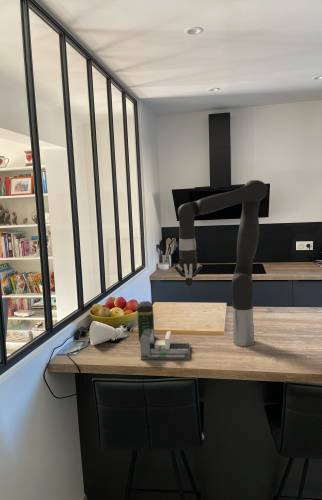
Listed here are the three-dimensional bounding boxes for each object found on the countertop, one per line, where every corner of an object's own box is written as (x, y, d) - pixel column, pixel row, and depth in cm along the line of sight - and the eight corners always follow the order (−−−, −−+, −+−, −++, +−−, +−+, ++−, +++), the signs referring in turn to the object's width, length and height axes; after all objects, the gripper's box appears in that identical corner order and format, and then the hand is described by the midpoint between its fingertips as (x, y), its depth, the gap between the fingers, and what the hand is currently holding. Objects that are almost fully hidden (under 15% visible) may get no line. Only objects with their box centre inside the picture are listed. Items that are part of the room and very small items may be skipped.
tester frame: (190, 346, 174) (189, 328, 172) (188, 360, 160) (188, 339, 159) (146, 346, 177) (145, 328, 175) (140, 359, 163) (139, 339, 162)
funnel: (128, 317, 192) (94, 316, 184) (133, 336, 185) (98, 336, 176) (120, 329, 199) (88, 329, 191) (125, 348, 192) (91, 349, 183)
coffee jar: (154, 342, 182) (152, 305, 179) (138, 342, 182) (135, 306, 179) (154, 334, 192) (152, 299, 189) (139, 335, 192) (137, 300, 189)
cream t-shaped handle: (171, 345, 172) (170, 331, 171) (168, 356, 162) (167, 340, 161) (157, 345, 173) (156, 331, 172) (153, 356, 163) (152, 340, 162)
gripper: (202, 246, 171) (204, 283, 173) (173, 247, 172) (175, 284, 175) (202, 249, 163) (203, 287, 166) (172, 250, 165) (174, 288, 168)
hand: (189, 285), depth 170 cm, fingers closed
